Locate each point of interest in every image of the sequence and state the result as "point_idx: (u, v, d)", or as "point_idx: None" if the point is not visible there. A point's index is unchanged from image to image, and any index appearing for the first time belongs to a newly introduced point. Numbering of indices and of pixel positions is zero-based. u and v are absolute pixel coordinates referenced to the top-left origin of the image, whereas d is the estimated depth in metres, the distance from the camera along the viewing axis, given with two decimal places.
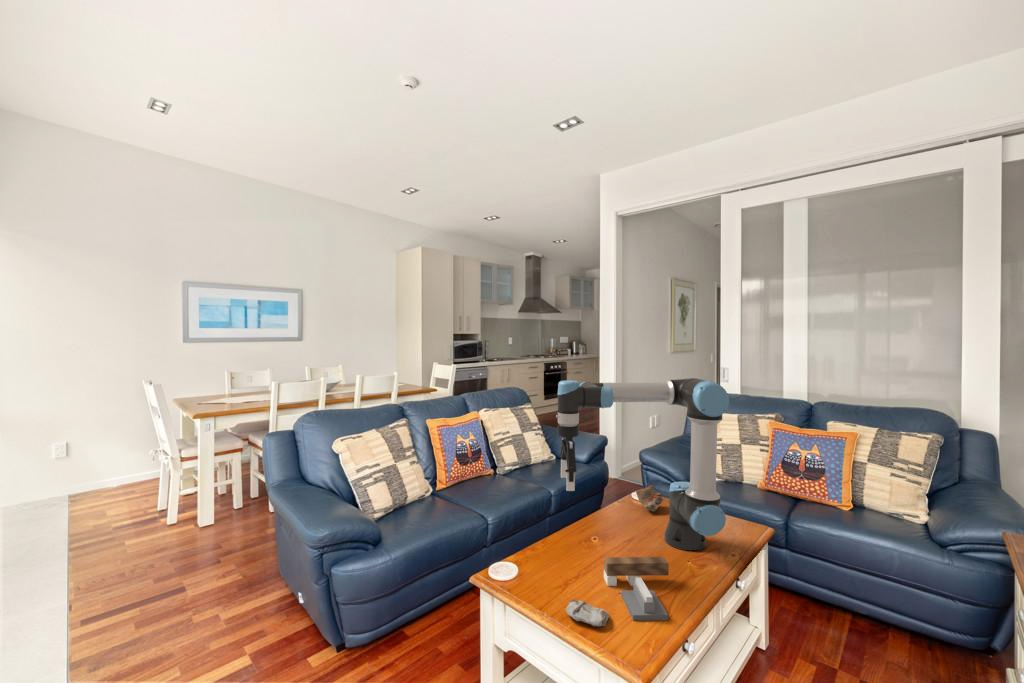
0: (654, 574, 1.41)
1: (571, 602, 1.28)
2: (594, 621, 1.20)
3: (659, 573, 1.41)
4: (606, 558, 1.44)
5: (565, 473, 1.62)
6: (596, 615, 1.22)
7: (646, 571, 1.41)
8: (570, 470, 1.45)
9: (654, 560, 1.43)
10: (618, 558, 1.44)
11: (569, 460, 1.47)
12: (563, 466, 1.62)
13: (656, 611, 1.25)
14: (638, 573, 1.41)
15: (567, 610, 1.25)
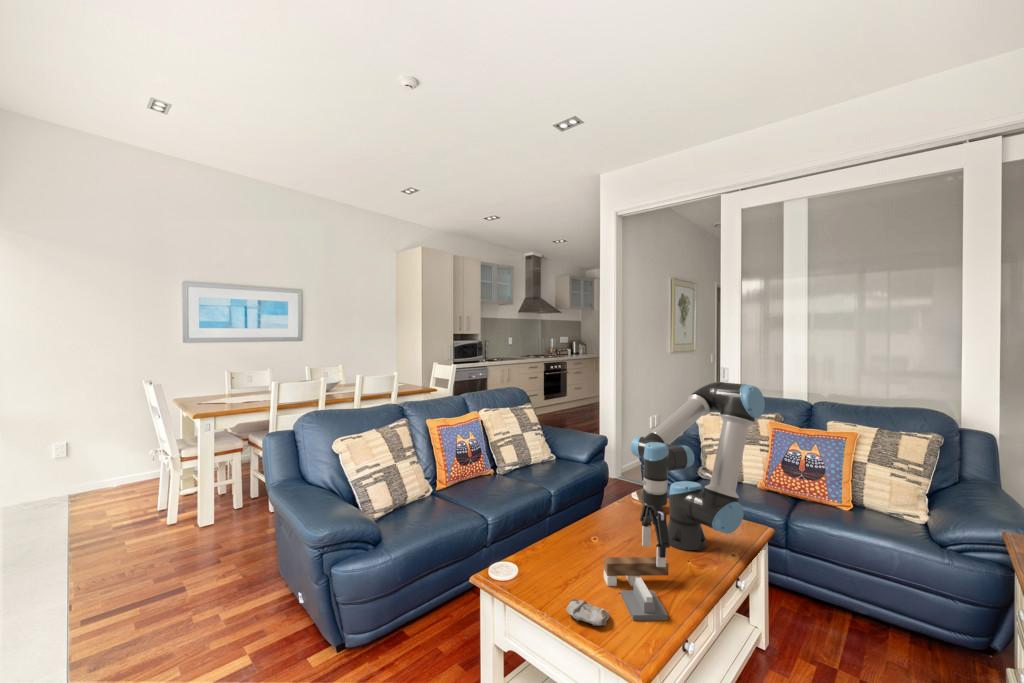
0: (654, 574, 1.41)
1: (572, 601, 1.28)
2: (594, 620, 1.20)
3: (659, 573, 1.41)
4: (606, 558, 1.44)
5: (647, 541, 1.49)
6: (597, 614, 1.22)
7: (646, 571, 1.41)
8: (663, 546, 1.33)
9: (654, 560, 1.43)
10: (618, 558, 1.44)
11: (661, 534, 1.34)
12: (645, 533, 1.49)
13: (656, 611, 1.25)
14: (638, 573, 1.41)
15: (568, 609, 1.25)
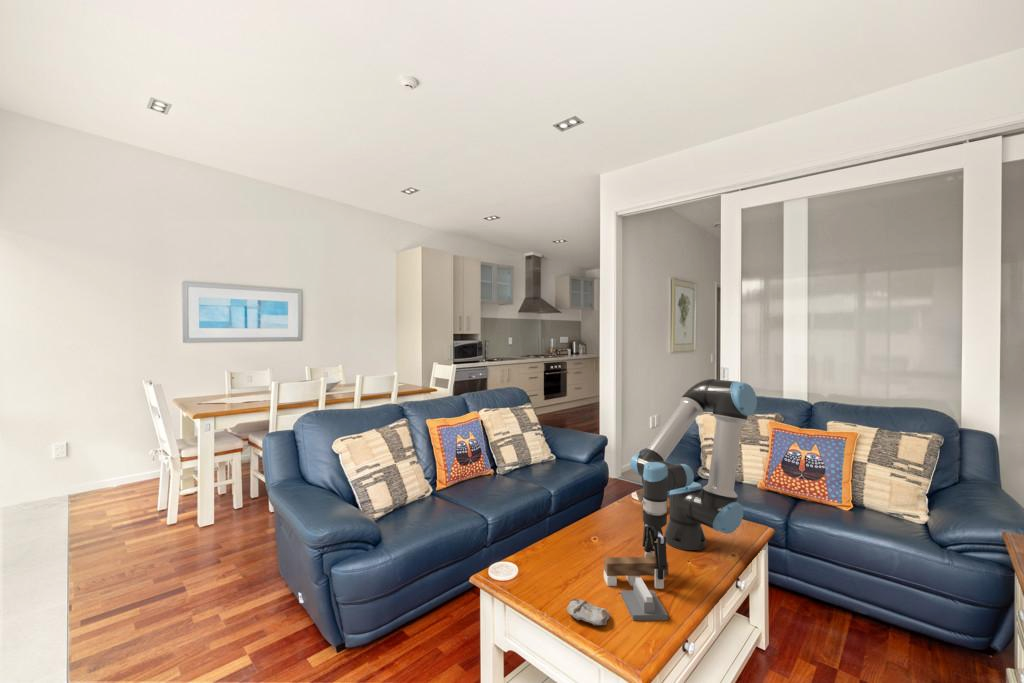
0: (654, 574, 1.41)
1: (572, 601, 1.28)
2: (594, 620, 1.20)
3: None
4: (606, 558, 1.44)
5: None
6: (597, 614, 1.22)
7: (646, 571, 1.41)
8: (661, 568, 1.35)
9: (654, 560, 1.43)
10: (618, 558, 1.44)
11: (660, 557, 1.36)
12: None
13: (656, 611, 1.25)
14: (638, 573, 1.41)
15: (568, 609, 1.25)
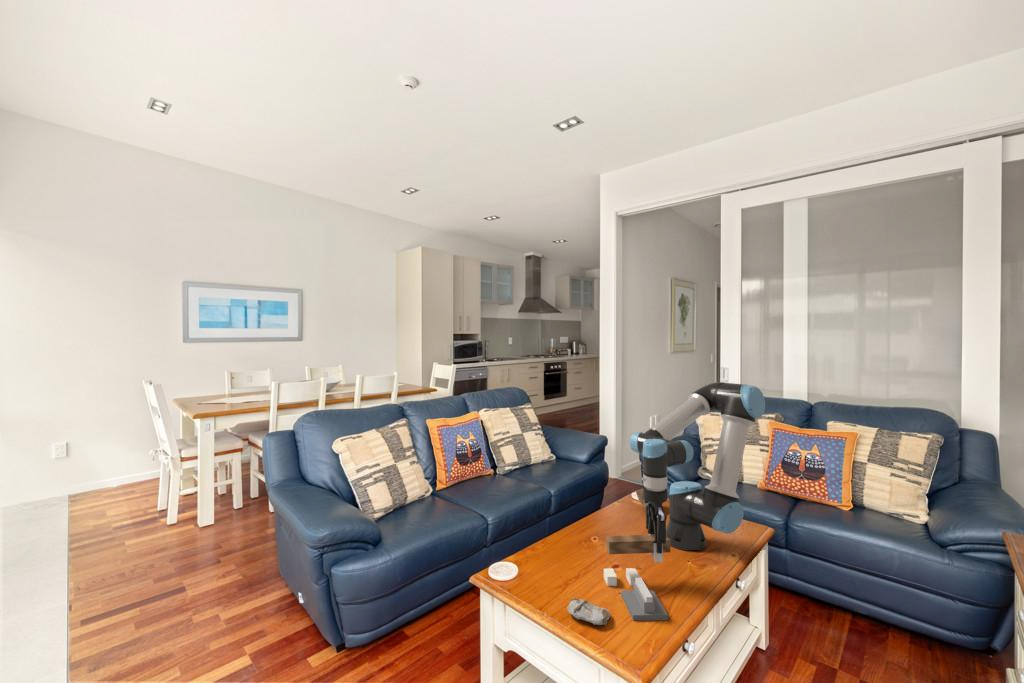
0: None
1: (572, 601, 1.29)
2: (595, 619, 1.20)
3: None
4: (608, 537, 1.44)
5: None
6: (597, 614, 1.22)
7: (648, 548, 1.41)
8: (659, 542, 1.38)
9: None
10: (620, 537, 1.44)
11: (659, 533, 1.37)
12: None
13: (656, 611, 1.25)
14: (640, 551, 1.41)
15: (568, 608, 1.25)
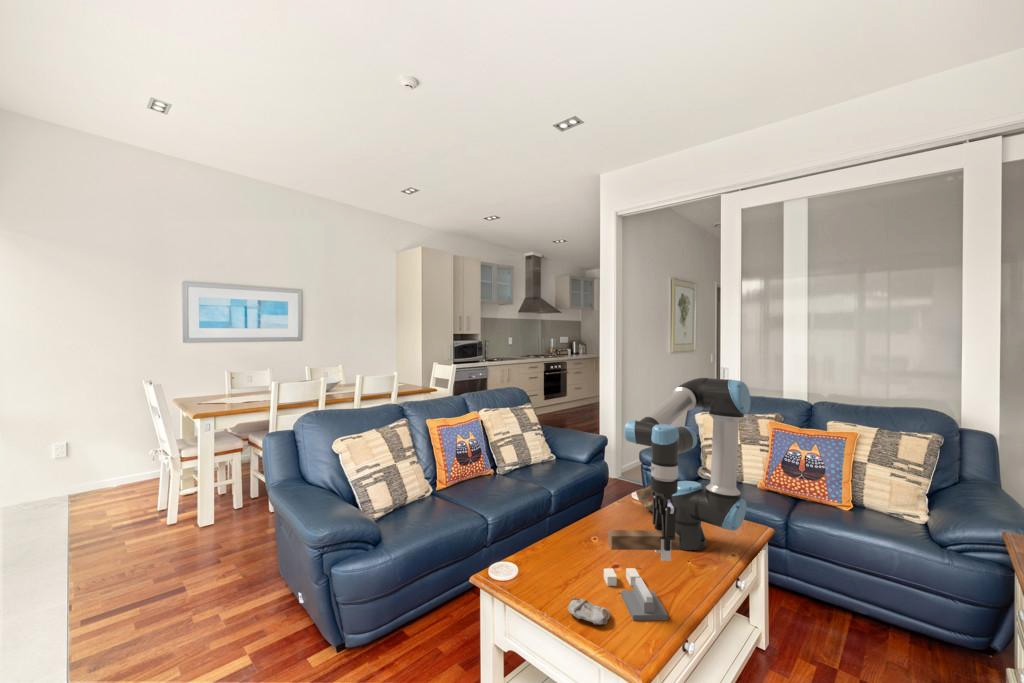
0: None
1: (573, 600, 1.29)
2: (595, 619, 1.20)
3: None
4: (610, 531, 1.31)
5: None
6: (597, 613, 1.22)
7: (654, 545, 1.28)
8: (668, 538, 1.24)
9: None
10: (624, 531, 1.31)
11: (668, 528, 1.24)
12: None
13: (656, 611, 1.25)
14: (646, 547, 1.28)
15: (569, 608, 1.26)
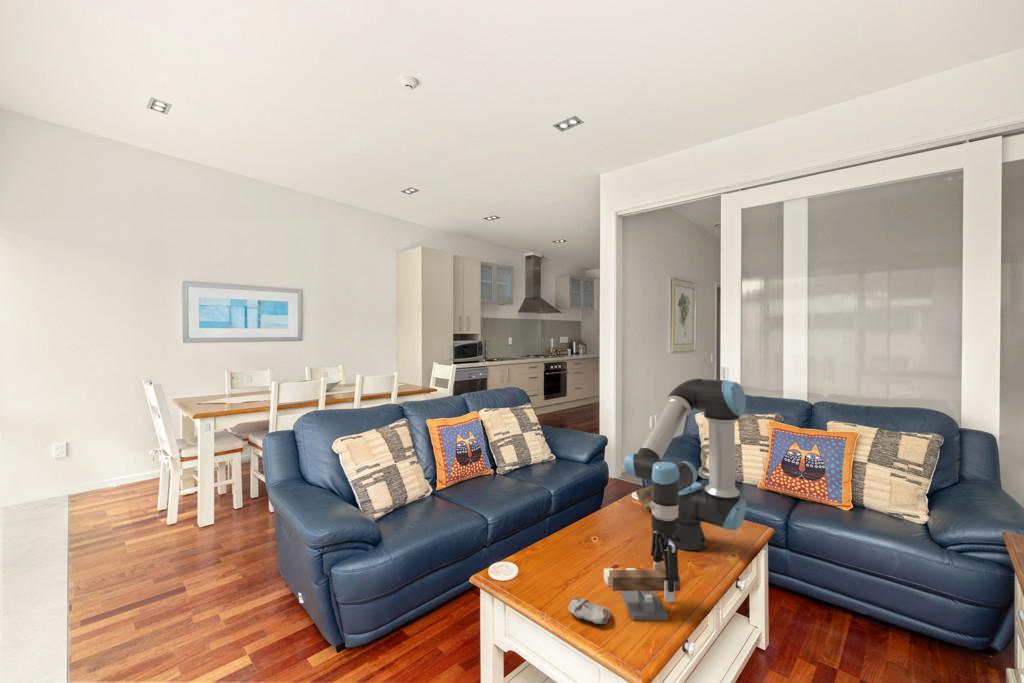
0: None
1: (573, 600, 1.29)
2: (595, 618, 1.21)
3: None
4: (611, 571, 1.30)
5: None
6: (598, 613, 1.23)
7: (656, 586, 1.28)
8: (672, 580, 1.22)
9: (665, 574, 1.29)
10: (625, 571, 1.30)
11: (671, 568, 1.22)
12: None
13: (656, 611, 1.25)
14: (647, 588, 1.28)
15: (569, 607, 1.26)
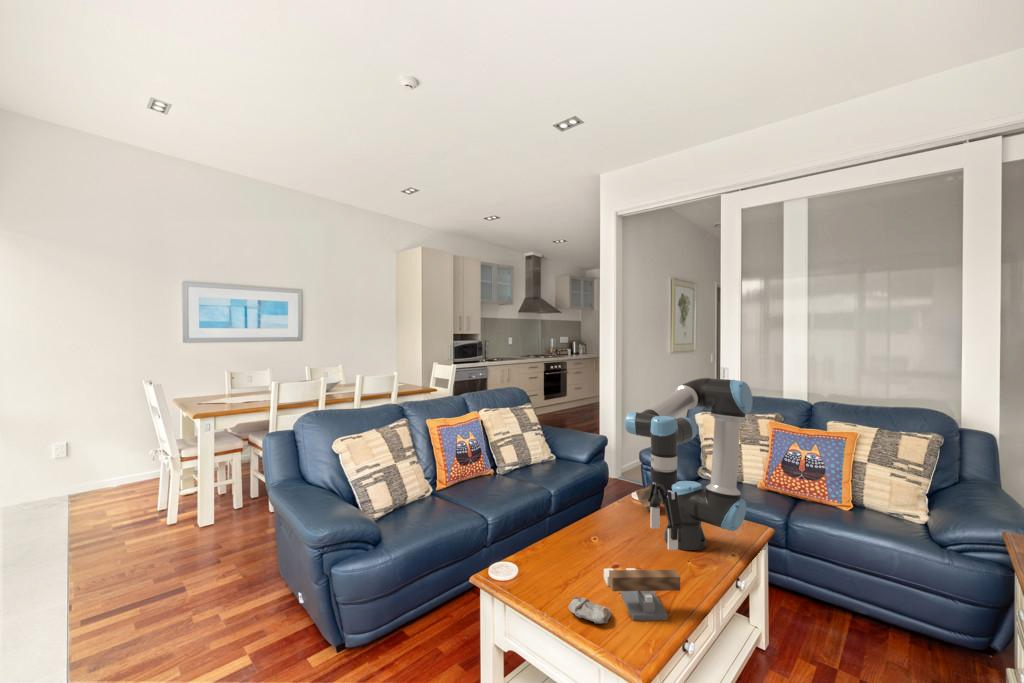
0: (664, 589, 1.28)
1: (574, 599, 1.29)
2: (596, 618, 1.21)
3: (670, 588, 1.28)
4: (611, 571, 1.30)
5: (656, 523, 1.38)
6: (598, 612, 1.23)
7: (655, 585, 1.28)
8: (675, 527, 1.22)
9: (665, 574, 1.29)
10: (624, 571, 1.30)
11: (673, 514, 1.23)
12: (654, 514, 1.38)
13: (656, 611, 1.25)
14: (647, 588, 1.28)
15: (569, 607, 1.26)
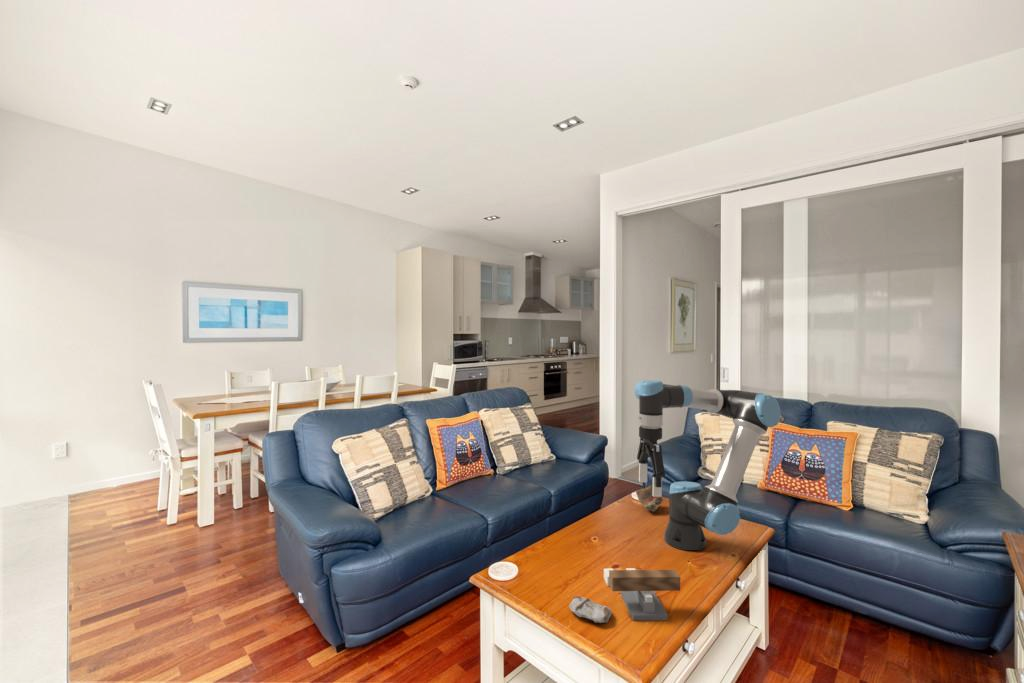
0: (664, 589, 1.28)
1: (574, 598, 1.30)
2: (596, 617, 1.21)
3: (670, 588, 1.28)
4: (611, 571, 1.30)
5: (644, 477, 1.54)
6: (599, 611, 1.23)
7: (655, 585, 1.28)
8: (659, 475, 1.38)
9: (665, 574, 1.29)
10: (624, 571, 1.30)
11: (657, 464, 1.39)
12: (642, 470, 1.54)
13: (656, 611, 1.25)
14: (647, 588, 1.28)
15: (570, 606, 1.27)
